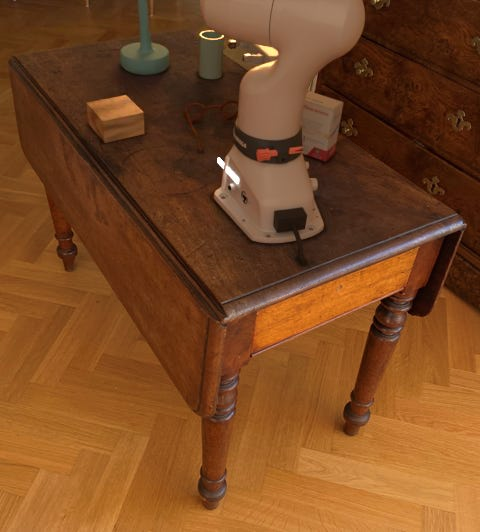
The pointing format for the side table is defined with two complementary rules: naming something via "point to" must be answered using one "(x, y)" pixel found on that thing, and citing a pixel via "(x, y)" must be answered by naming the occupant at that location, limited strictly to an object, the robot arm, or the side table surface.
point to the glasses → (203, 114)
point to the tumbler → (210, 54)
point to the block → (115, 118)
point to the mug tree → (144, 49)
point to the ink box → (320, 125)
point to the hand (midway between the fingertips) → (235, 51)
